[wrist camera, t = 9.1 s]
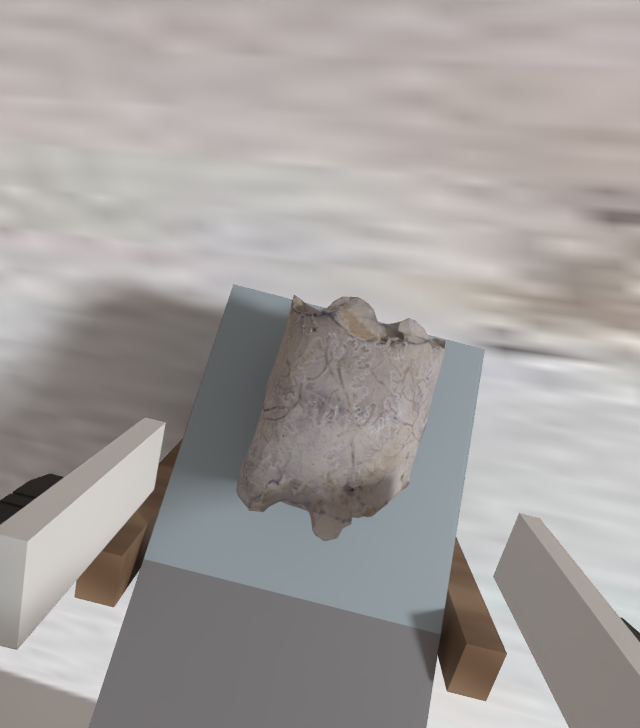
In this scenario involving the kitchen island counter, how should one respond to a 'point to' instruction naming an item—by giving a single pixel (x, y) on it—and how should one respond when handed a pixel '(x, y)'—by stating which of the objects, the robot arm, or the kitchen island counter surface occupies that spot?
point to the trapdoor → (288, 569)
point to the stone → (341, 414)
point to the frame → (460, 621)
